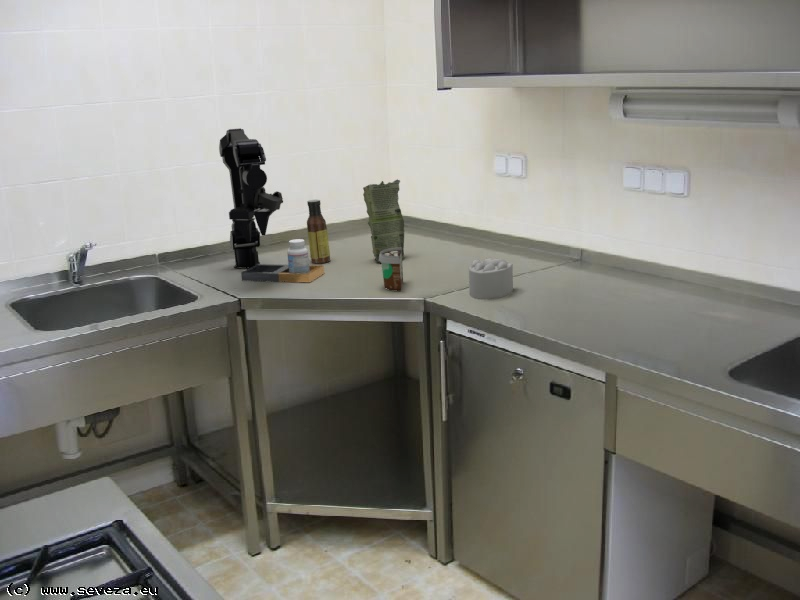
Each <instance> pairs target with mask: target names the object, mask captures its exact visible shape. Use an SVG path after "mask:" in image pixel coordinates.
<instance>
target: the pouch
mask: <svg viewBox="0 0 800 600" xmlns="http://www.w3.org/2000/svg"><path fill="white" fill-rule="evenodd" d="M400 183H401V180H400V179H398V178H397V179H395V180H394V181H392V182H387V183H386V184H385V182H384V181H383V180H382V181H381V182H380V183H378V184H377V183H374V184H373V183H371V184H368V185H366V186H364V187H362V189H363V201H364V203H365V206H366V213H367V215H368V221H367V224H368V226H369V227H370V232H371V236H370V239H371V245H372V253H373V257H374V258H375V260H376V262H377V263H380V264H381V262H380V261H379V254H380V252H381V251H382V250H385V249H389V248H396V247H402V258H404V257H405V252H404V250H405V249H404V248H405V247H404V246H405V220H404V217H403V215H402V209H401V207H400V204H399V191H400Z"/></svg>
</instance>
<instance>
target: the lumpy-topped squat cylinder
mask: <svg viewBox="0 0 800 600" xmlns="http://www.w3.org/2000/svg"><path fill="white" fill-rule="evenodd" d="M513 267H514V264H513V263H512V262H510V261H508V260H507V261H506V260H505V258H504V259H503V258H492V257H488V258H486V259H484V260H480V259H474V260H473V261H472V262H471V265H470V266H468V287H469V296H470V297H471V298H473V299H477V300H494V299H499V298H501V297H502V298H503V297H506V296H508V295H509V294H511V293H512V292H513V291H514V276H513V275H514V273H513V272H514V270H513V269H514V268H513Z"/></svg>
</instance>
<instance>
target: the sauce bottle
mask: <svg viewBox="0 0 800 600" xmlns="http://www.w3.org/2000/svg"><path fill="white" fill-rule="evenodd" d="M306 202H307V206H308V214H309V215H308V218H307V220H306V226H307V238H308V245H309V247H308V248H309V256H310V259H311V260H310V261H311V263H313V264H326V263H329V262H330V261H331V252H330V245H329V244H330V243H329V235H328V228H327V222H326V220H325V218H324V216H323V214H322V211H321V209H322V208H321V200H320V199H310V200H307V201H306Z"/></svg>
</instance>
